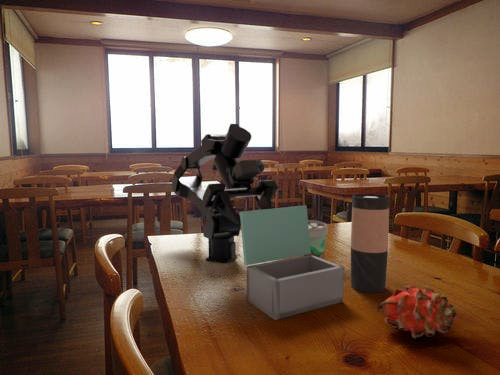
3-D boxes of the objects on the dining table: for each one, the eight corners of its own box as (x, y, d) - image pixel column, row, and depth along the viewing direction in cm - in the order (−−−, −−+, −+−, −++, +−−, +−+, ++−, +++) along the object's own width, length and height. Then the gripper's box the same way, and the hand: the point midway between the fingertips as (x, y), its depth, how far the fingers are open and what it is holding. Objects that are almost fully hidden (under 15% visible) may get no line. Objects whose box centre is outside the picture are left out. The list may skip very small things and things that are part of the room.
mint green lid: (246, 265, 76) (244, 264, 77) (311, 253, 84) (308, 253, 85) (242, 211, 76) (239, 212, 77) (306, 205, 84) (303, 205, 85)
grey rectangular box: (246, 300, 77) (246, 266, 76) (310, 285, 85) (311, 254, 84) (275, 320, 68) (275, 281, 67) (342, 301, 76) (343, 267, 75)
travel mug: (367, 296, 79) (370, 199, 77) (342, 284, 86) (344, 194, 83) (394, 289, 82) (398, 196, 80) (368, 278, 89) (370, 192, 87)
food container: (327, 270, 95) (328, 230, 94) (302, 268, 97) (303, 229, 95) (328, 256, 107) (328, 220, 106) (305, 254, 109) (306, 219, 107)
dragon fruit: (462, 351, 61) (381, 348, 65) (452, 304, 67) (379, 304, 71) (462, 323, 56) (375, 321, 60) (452, 274, 62) (373, 276, 66)
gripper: (206, 148, 87) (231, 201, 79) (273, 147, 97) (302, 195, 89) (193, 181, 95) (214, 233, 86) (257, 178, 104) (282, 224, 96)
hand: (255, 220), depth 89 cm, fingers open, 9 cm apart
